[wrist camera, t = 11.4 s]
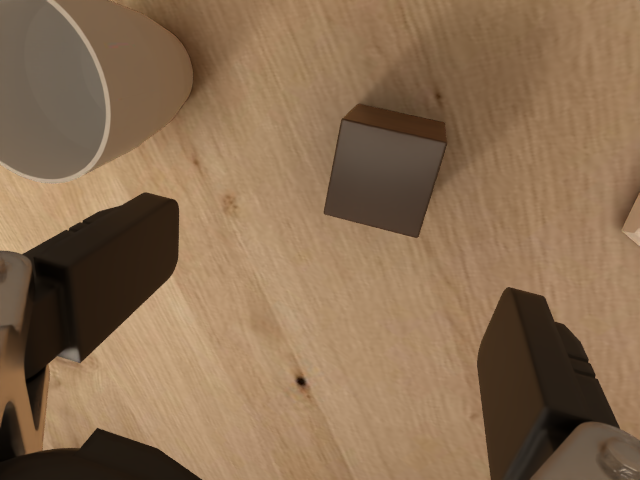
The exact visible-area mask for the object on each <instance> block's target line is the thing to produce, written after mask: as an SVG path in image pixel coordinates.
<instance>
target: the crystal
mask: <svg viewBox="0 0 640 480" xmlns="http://www.w3.org/2000/svg"><path fill="white" fill-rule="evenodd" d="M621 231H622V232H623V233H624V234H626V235H627V236H628V237H629V238H630V239H632V240H633V241H634V242H635V243H636V244H638V245H639V246H640V193H639V195H638V197H637V199H636V201H635V203H634V205H633V207H632V209H631V211H630V213H629V215H628V217H627V220H626V222H625V224H624V226H623V228H622V230H621Z"/></svg>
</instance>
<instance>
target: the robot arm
mask: <svg viewBox="0 0 640 480" xmlns="http://www.w3.org/2000/svg"><path fill="white" fill-rule="evenodd" d="M178 246H179V206H178V203H177V202H176V200H174V199H170V198H166V197H162V196H158V195H154V194H150V193H142V194H141V195H139V196H137V197H135V198H134V199H132V200H130V201H128V202H127V203H125V204H123V205H122V206H118V207H114V208H110V209H106V210H103V211H99V212H97V213H95V214H94V215H92V216H90V217H88V218H87V219H85V220H83V222H82V223H80V222H79V223H78V224H76V225H74V226H72V227H70V228H69V231H68V230H65V231H63V232H61V233H60V234H58V235H56V236H54V237H52V238H51V239H49V240H47V241H45V242H43V243H42V244H40V245H38V246H36V247H35V248H33V249H31V250H29V251H27V252H26V253H24V254H19V253H15V252H10V251H0V480H202V479H200V478H199V477H198V476H196V475H195V474H193V473H192V472H190V471H189V470H188V469H186V468H185V467H183V466H182V465H180V464H179V463H178V462H176V461H175V460H173V459H172V458H170V457H169V456H167V455H166V454H165V453H163V452H162V451H160V450H159V449H157V448H154V447H152V446H149V445H146V444H143V443H140V442H137V441H134V440H131V439H128V438H125V437H122V436H119V435H116V434H113V433H110V432H107V431H104V430H101V429H99V428H97V429H96V430H95V431H94V432H93V434H92V435H91V436H90V437H89V438H88V440H87V441H86V442H85V443H84V444H83V446H82V447H81V448H60V449H51V450H44V451H43V438H44V428H45V418H46V408H47V398H48V388H49V379H50V370H49V364H48V363H49V362H51V361H52V360H53V359H54V358H55V357H56V356H59V357H62V358H65V359H68V360H72V361H75V362H78V363H81V362H82V361H83V360H84V359H85V358H86V357H87V356H88V355H89V354H90V353H91V352H92V351H93V350H94V349H96V348H97V347H98V346H99V345H100V344H101V343H102V342H103V341H104V340H105V339H106V338H107V337H108V336H109V335H110V334H111V333H112V332H113V331H114V330H115V329H116V328H118V327H119V326H120V325H121V324H122V323H123V322H124V321H125V320H126V319H127V318H128V317H129V316H130V315H131V314H132V313H133V312H134V311H135V310H136V309H137V308H138V307H140V306H141V305H142V304H143V303H144V302H145V301H146V300H147V299H148V298H149V297H150V296H151V295H152V294H153V293H154V292H155V291H156V290H157V289H158V288H159V287H160V286H162V285H163V284H164V283H165V282H166V281H167V280H168V279H169V278H170V276H171V275H172V273H173V272H174V270H175V267H176V264H177V260H178ZM588 361H589V359H588V357H587V355H586V353H585V351H584V348H583V346H582V344H581V342H580V341H579V340H578V339H577V338H576V337H575V336H574V335H573V333H572V332H571V331H570V330H569V329H568V328H567V327H566V326H565V325H564V324H561V323H557V322H554V319H553V317H552V314H551V312H550V309H549V307H548V304H547V302H546V299H545V297H544V296H541V295H537V294H533V293H530V292H526V291H522V290H518V289H514V288H510V287H508V288H506V289H505V290H504V292H503V294H502V296H501V298H500V300H499V302H498V304H497V307H496V309H495V311H494V314H493V316H492V318H491V320H490V323H489V325H488V327H487V330H486V332H485V334H484V337H483V339H482V341H481V344H480V348H479V352H478V360H477V368H478V377H479V385H480V393H481V401H482V410H483V418H484V426H485V434H486V443H487V451H488V459H489V467H490V476H491V480H640V441H639V440H638V439H637V438H635V437H633V436H632V435H630V434H629V433H627V432H625V431H623V430H621V429H620V427H619V425H618V423H617V421H616V419H615V416H614V414H613V412H612V410H611V408H610V406H609V403H608V401H607V399H606V397H605V395H604V392H603V390H602V388H601V386H600V384H599V381H598V379H595V373H594V370H593V368H592V366H591V364H590V363H588Z"/></svg>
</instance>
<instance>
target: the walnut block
mask: <svg viewBox="0 0 640 480" xmlns="http://www.w3.org/2000/svg"><path fill="white" fill-rule="evenodd" d="M446 146H447V138H446V129H445V123H444V122H439V121H435V120H430V119H426V118H421V117H416V116H412V115H407V114H403V113H398V112H394V111H389V110H385V109H380V108H376V107H371V106H367V105H362V104H357V105H356V106H355V107H354V108H353V109H352V110H351V111H350V112H349V113H348V114H347V115H346V116H345V117H344V118H342V120H341V125H340V130H339V135H338V140H337V145H336V151H335V156H334V161H333V166H332V171H331V176H330V182H329V187H328V192H327V197H326V202H325V208H324V214H325V215H329V216H333V217H337V218H341V219H345V220H349V221H353V222H356V223H360V224H364V225H368V226H372V227H376V228H380V229H384V230H388V231H392V232H395V233H399V234H403V235H407V236H411V237H415V238H418V237H419V234H420V230H421V227H422V224H423V221H424V217H425V214H426V211H427V208H428V204H429V201H430V198H431V195H432V191H433V188H434V185H435V182H436V179H437V175H438V172H439V169H440V166H441V162H442V159H443V156H444V153H445V149H446Z"/></svg>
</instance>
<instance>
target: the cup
mask: <svg viewBox="0 0 640 480" xmlns="http://www.w3.org/2000/svg"><path fill="white" fill-rule="evenodd" d="M192 85H193V69H192V64H191V60H190V57H189V55H188V53H187V51H186V49H185V47H184V46H183V44H182V43H181V42H180V41H179V39H178V38H177V37H176V36H175V35H173V34H172V33H171V32H170V31H168V30H167V29H165V28H164V27H162V26H161V25H159V24H158V23H156V22H155V21H153V20H152V19H151V18H149V17H147V16H146V15H144V14H142V13H140V12H138V11H135V10H132V9H130V8H127V7H124V6H122V5H119V4H116V3H114V2H111V1H108V0H0V165H2V166H3V167H5V168H6V169H8V170H9V171H11V172H13V173H15V174H17V175H19V176H21V177H24V178H26V179H29V180H33V181H36V182H41V183H51V184H54V183H64V182H69V181H72V180H74V179H77V178H79V177H81V176H83V175H85V174H87V173H89V172H91V171H93V170H94V169H96V168H98V167H100V166H102V165H104V164H106V163H108V162H110V161H112V160H114V159H116V158H118V157H120V156H122V155H124V154H126V153H128V152H130V151H131V150H133V149H135V148H136V147H138V146H139V145H141V144H142V143H143V142H144V141H146V140H147V139H148V138H150V137H151V136H152V135H154V134H155V133H156V132H158V131H159V130H160V129H161V128H163V127H164V126H165V125H167V124H168V123H169V122H170V121H171V120H172V119H173V118H174V116H175V115H176V114H177V112H178V111H179V110H180V108H181V107H182V105H183V104H184V103H185V101H186V100H187V98H188V97H189V95H190V92H191V89H192Z"/></svg>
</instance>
